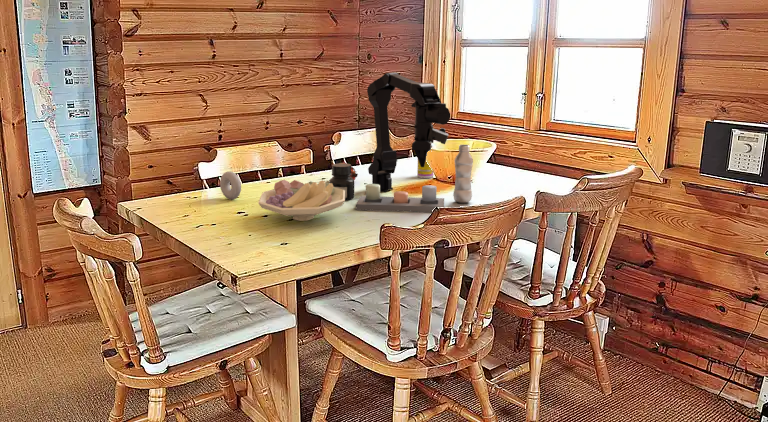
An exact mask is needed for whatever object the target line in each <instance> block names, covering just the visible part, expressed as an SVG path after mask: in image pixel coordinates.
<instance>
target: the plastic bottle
mask: <svg viewBox="0 0 768 422" xmlns="http://www.w3.org/2000/svg"><path fill="white" fill-rule="evenodd" d="M470 148H471V147H470V145H469V144H459V145H458V151H459V152H458V153H457V155H456V156H455V158H454V168H455V172H454V173H455V181H454V182H455V183H454V190H453V194H452V197H453V200H454V202H457V203H461V204H464V203H470V202H471V201H472V197H473V193H472V192H473V191H472V181H471V180H472V179H471V178H472V177H471V176H472V170H473V164H474V159H473V156H472V155H471V154H470Z"/></svg>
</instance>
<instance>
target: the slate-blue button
mask: <svg viewBox="0 0 768 422" xmlns="http://www.w3.org/2000/svg"><path fill="white" fill-rule="evenodd" d="M437 190H438V189H437V186H436V185H430V184H429V185H428V184H427V185H423V186H422V187H421V198H422V200H423V201H436V198H437Z"/></svg>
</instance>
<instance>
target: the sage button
mask: <svg viewBox="0 0 768 422" xmlns="http://www.w3.org/2000/svg"><path fill="white" fill-rule="evenodd" d="M365 196H366V199H369V200H377V199H380V197H381V192H380V185H379V184H372V183H368V184H365Z"/></svg>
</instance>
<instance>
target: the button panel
mask: <svg viewBox="0 0 768 422" xmlns="http://www.w3.org/2000/svg"><path fill="white" fill-rule="evenodd" d="M435 207H444V208H445V198H443V197H436V201H423V200H422V197H414V196H413V197H411V196H410V197H409V196H408V204H407V203H394V196H380V199H377V200H369V199H366V195H360V197H359V198H358V199H357V201H356V203H355V211H375V212H376V211H377V212H379V211H381V212H404V211H411V212H410V213H433V212H432V210H433V209H434V208H435ZM415 211H417V212H415Z"/></svg>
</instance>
